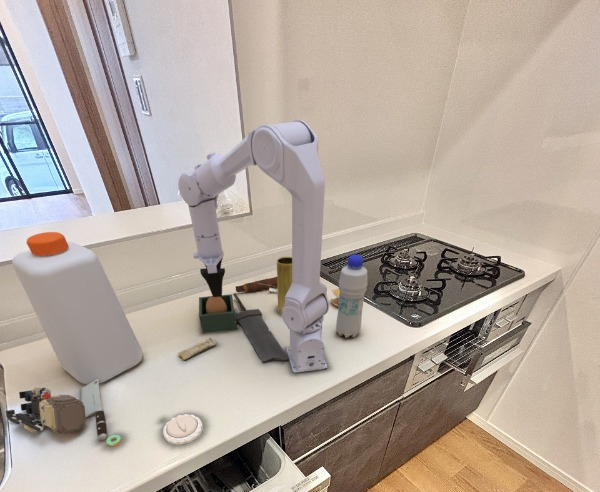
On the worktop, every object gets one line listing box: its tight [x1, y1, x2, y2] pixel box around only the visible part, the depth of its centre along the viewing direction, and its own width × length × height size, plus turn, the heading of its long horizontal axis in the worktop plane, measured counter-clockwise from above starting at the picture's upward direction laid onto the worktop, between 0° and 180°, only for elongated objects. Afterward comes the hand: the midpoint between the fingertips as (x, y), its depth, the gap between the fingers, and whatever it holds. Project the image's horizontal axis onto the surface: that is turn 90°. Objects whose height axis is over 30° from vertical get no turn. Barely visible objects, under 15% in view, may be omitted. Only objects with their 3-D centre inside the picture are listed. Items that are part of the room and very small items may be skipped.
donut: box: [105, 434, 123, 448], centre depth 66 cm, size 2×10×1 cm, turn 119°
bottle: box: [335, 254, 369, 339], centre depth 84 cm, size 7×7×20 cm
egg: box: [206, 295, 227, 314], centre depth 92 cm, size 5×5×7 cm
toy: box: [5, 386, 87, 435], centre depth 65 cm, size 7×8×15 cm
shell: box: [330, 288, 340, 307], centre depth 100 cm, size 8×4×5 cm
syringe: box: [253, 281, 278, 294], centre depth 107 cm, size 10×2×2 cm
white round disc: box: [162, 413, 204, 446], centre depth 66 cm, size 7×7×2 cm
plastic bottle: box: [11, 231, 144, 385], centre depth 72 cm, size 15×15×28 cm
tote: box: [198, 293, 238, 334], centre depth 93 cm, size 10×9×5 cm
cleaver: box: [79, 379, 108, 441], centre depth 69 cm, size 17×1×5 cm
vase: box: [276, 256, 292, 315], centre depth 94 cm, size 6×6×14 cm
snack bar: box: [177, 337, 218, 361], centre depth 85 cm, size 10×2×3 cm
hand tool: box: [235, 276, 277, 293], centre depth 109 cm, size 26×3×4 cm, turn 113°
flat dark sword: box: [232, 292, 289, 363], centre depth 92 cm, size 7×35×2 cm, turn 24°
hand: (216, 289), depth 89 cm, fingers open, 7 cm apart
